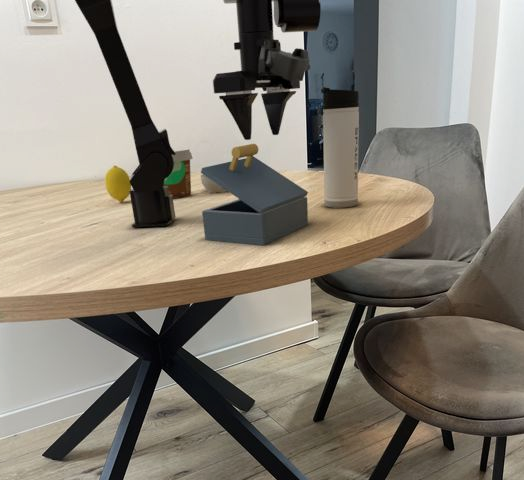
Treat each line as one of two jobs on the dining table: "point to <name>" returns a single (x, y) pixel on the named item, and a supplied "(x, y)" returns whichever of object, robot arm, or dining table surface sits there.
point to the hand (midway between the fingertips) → (262, 137)
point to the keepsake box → (253, 222)
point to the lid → (254, 180)
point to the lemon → (117, 183)
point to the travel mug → (340, 147)
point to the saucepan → (211, 185)
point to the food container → (180, 175)
